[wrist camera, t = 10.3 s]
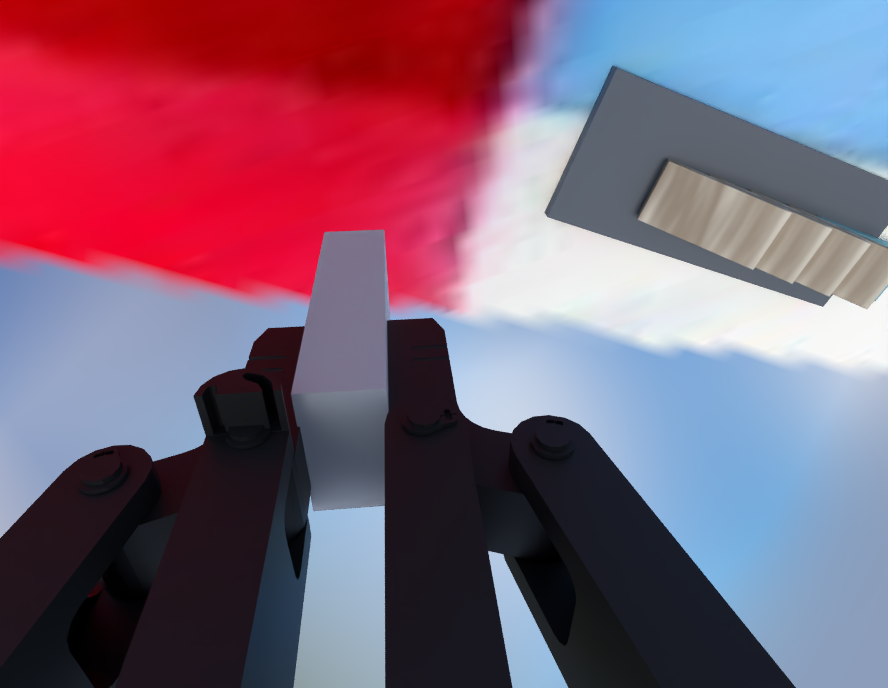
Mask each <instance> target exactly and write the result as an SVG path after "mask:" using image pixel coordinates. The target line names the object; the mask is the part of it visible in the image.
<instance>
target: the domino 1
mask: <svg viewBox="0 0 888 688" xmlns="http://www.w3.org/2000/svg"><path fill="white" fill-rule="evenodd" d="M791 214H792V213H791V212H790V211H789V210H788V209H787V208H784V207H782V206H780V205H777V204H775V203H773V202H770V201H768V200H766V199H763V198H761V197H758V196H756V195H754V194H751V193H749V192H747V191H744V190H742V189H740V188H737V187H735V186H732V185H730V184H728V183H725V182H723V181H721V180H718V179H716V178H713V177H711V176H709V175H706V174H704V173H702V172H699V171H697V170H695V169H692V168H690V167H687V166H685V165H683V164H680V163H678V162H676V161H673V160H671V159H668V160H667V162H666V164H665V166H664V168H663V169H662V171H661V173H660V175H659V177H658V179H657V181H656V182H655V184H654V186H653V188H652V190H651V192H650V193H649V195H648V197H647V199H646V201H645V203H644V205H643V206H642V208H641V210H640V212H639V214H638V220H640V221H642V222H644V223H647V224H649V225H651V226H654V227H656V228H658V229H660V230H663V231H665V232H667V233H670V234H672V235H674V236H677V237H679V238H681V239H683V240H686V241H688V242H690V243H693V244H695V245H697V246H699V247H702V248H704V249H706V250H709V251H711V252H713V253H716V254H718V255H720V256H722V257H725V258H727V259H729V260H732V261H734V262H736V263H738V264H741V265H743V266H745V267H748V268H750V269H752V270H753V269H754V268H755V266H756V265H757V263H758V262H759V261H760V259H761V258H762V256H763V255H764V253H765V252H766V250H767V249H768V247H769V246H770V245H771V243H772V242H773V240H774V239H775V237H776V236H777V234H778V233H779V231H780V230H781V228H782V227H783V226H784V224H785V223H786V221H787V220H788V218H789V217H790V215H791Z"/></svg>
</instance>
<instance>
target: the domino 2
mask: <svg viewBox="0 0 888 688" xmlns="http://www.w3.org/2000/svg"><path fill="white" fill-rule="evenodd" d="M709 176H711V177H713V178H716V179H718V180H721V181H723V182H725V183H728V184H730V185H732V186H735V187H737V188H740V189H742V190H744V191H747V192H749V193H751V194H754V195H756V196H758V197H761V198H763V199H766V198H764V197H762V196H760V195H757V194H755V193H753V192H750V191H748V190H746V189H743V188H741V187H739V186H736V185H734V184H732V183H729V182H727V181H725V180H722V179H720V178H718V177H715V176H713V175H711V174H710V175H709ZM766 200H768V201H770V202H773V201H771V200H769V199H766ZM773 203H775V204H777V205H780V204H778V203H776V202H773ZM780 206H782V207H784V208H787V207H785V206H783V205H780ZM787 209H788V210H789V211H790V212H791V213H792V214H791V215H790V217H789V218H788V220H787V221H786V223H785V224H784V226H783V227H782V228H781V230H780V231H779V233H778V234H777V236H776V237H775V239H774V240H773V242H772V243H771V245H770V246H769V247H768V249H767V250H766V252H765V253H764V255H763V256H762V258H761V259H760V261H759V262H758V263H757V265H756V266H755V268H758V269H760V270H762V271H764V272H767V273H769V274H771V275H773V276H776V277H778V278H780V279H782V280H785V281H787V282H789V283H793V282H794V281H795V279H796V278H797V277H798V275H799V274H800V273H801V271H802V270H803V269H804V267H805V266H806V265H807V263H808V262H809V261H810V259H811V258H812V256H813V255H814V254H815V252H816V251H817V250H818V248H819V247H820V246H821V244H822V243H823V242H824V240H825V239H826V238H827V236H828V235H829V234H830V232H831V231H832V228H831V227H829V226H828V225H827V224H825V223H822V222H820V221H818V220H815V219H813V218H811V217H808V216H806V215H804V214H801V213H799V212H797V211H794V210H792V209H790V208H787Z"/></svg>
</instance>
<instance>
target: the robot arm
mask: <svg viewBox="0 0 888 688" xmlns="http://www.w3.org/2000/svg"><path fill="white" fill-rule="evenodd" d="M194 399H195V402H196V405H197V409H198V412H199V415H200V418H201V421H202V425H203V428H204V431H205V434H206V438H205V441H204V444H203V445H201V446H199V447H198V448H196V449H193V450H190V451H187V452H185V453H182V454H178V455H175V456H171V457H168V458H164V459H161V460H157V461H154V462H153V461H152V458H151V456H150V455H149V454H148V453H147V452H146V451H145V450H144V449H142V448H139V447H135V446H132V445H118V446H111V447H107V448H104V449H100V450H96V451H94V452H92V453H90V454H88V455H86V456H84V457H82V458H80V459H78V460H77V461H76V462H74V463H73V464H72V465H71V466H69V467H68V468H67V469H66V470H65V471H63V473H62V474H61V475H60V476H59V477H58V478H57V479H56V480H55V481H54V482H53V483H52V484H51V485H50V487H48V488H47V489H46V490H45V492H44V493H43V494H42V495H41V496H40V497H39V498H38V499H37V500H36V501H35V502H34V503H33V504H32V505H31V506H30V507H29V508H28V509H27V511H26V512H25V513H24V514H23V515H22V516H21V517H20V518H19V519H18V520H17V521H16V523H14V524H13V525H12V526H11V527H10V529H9V530H8V531H7V532H6V533H5V534H4V535H3V536H2V537H1V538H0V688H293V686H294V677H295V668H296V660H297V652H298V643H299V635H300V626H301V618H302V609H303V601H304V592H305V583H306V575H307V566H308V558H309V550H310V541H311V532H310V525H309V519H308V515H307V514H308V507H309V500H310V496H311V500H312V505H313V510H314V511H321V510H334V509H347V508H360V507H373V506H385V675H386V676H385V688H512V683H511V677H510V672H509V666H508V660H507V655H506V649H505V644H504V638H503V633H502V627H501V621H500V616H499V610H498V605H497V599H496V594H495V588H494V582H493V577H492V571H491V565H490V560H489V554H488V551H492V552H496V553H501V554H504V558H505V561H506V563H507V565H508V567H509V569H510V571H511V573H512V575H513V577H514V579H515V581H516V583H517V585H518V587H519V589H520V591H521V593H522V595H523V597H524V599H525V601H526V603H527V605H528V607H529V609H530V611H531V613H532V615H533V617H534V619H535V621H536V623H537V625H538V627H539V629H540V631H541V633H542V635H543V637H544V639H545V641H546V643H547V645H548V647H549V649H550V651H551V653H552V655H553V657H554V659H555V661H556V663H557V665H558V667H559V669H560V671H561V673H562V675H563V677H564V679H565V681H566V683H567V686H568V688H796V687H795V686H794V685H793V684H792V682H791V681H790V680H789V679H788V678H787V676H786V675H785V674H784V672H783V671H782V670H781V669H780V668H779V666H778V665H777V664H776V663H775V661H774V660H773V659H772V658H771V656H770V655H769V654H768V653H767V652H766V650H765V649H764V648H763V647H762V645H761V644H760V643H759V642H758V641H757V639H756V638H755V637H754V636H753V634H752V633H751V632H750V631H749V629H748V628H747V627H746V626H745V624H744V623H743V622H742V621H741V619H740V618H739V617H738V616H737V615H736V614H735V612H734V611H733V610H732V608H731V607H730V606H729V605H728V603H727V602H726V601H725V600H724V599H723V597H722V596H721V595H720V594H719V592H718V591H717V590H716V589H715V587H714V586H713V585H712V584H711V582H710V581H709V580H708V579H707V578H706V576H705V575H704V574H703V573H702V571H701V570H700V569H699V568H698V566H697V565H696V564H695V563H694V562H693V560H692V559H691V558H690V557H689V555H688V554H687V553H686V552H685V551H684V549H683V548H682V547H681V545H680V544H679V543H678V542H677V541H676V539H675V538H674V537H673V536H672V534H671V533H670V532H669V531H668V529H667V528H666V527H665V526H664V525H663V523H662V522H661V521H660V520H659V518H658V517H657V516H656V515H655V513H654V512H653V511H652V510H651V508H650V507H649V506H648V505H647V504H646V502H645V501H644V500H643V499H642V497H641V496H640V495H639V494H638V492H637V491H636V490H635V489H634V488H633V486H632V485H631V484H630V483H629V482H628V480H627V479H626V478H625V476H624V475H623V474H622V473H621V471H619V469H618V468H617V467H616V465H615V464H614V463H613V462H612V461H611V459H610V458H609V457H608V455H607V454H606V453H605V452H604V451H603V449H602V448H601V447H600V446H599V445H598V443H597V442H596V441H595V439H594V438H593V437H592V436H591V435H590V433H589V432H587V431H586V430H585V429H584V428H583V427H582V426H580V425H579V424H578V423H575V422H573V421H571V420H568V419H566V418H563V417H557V416H551V415H546V416H536V417H532V418H529V419H527V420H525V421H522V422H521V423H520V424H519V425H518V426H517V427H516V428H515V429H514V430H513V432H512V433H506V432H500V431H495V430H491V429H487V428H483V427H481V426H479V425H477V424H475V423H473V422H471V421H470V420H469V419H467V418H466V417H465V416H464V415H463V414H462V412H461V411H460V409H459V407H458V404H457V401H456V395H455V389H454V384H453V377H452V372H451V366H450V360H449V355H448V348H447V343H446V337H445V331H444V329H443V328H442V327H441V326H440V325H439V324H438V323H437V322H436V321H435V320H434V319H433V318H425V319H405V320H390V309H389V294H388V279H387V264H386V249H385V234H384V230H365V231H340V232H324V237H323V242H322V247H321V252H320V257H319V261H318V266H317V271H316V276H315V281H314V285H313V290H312V295H311V300H310V305H309V310H308V315H307V319H306V324H305V326H303V327H285V328H268V329H267V330H266V331H265V332H264V333H263V334H262V335H261V336H260V337H259V338H258V339H257V340H256V341H255V342H254V343H253V346H252V349H251V352H250V355H249V360H248V362H247V364H246V367H245V368H244V369H238V370H232V371H228V372H226V373H223V374H220V375H217V376H215V377H213V378H212V379H210V380H209V381H207V382H206V383H205V384H203V385H201V386H200V388H199V389H198V391H197V392H196V393H195V395H194Z"/></svg>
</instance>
